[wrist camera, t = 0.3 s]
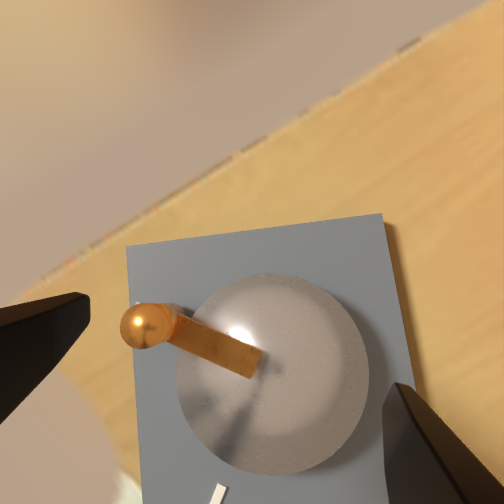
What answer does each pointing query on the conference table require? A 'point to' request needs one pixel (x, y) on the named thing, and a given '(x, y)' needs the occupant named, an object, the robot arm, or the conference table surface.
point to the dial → (263, 370)
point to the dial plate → (237, 267)
